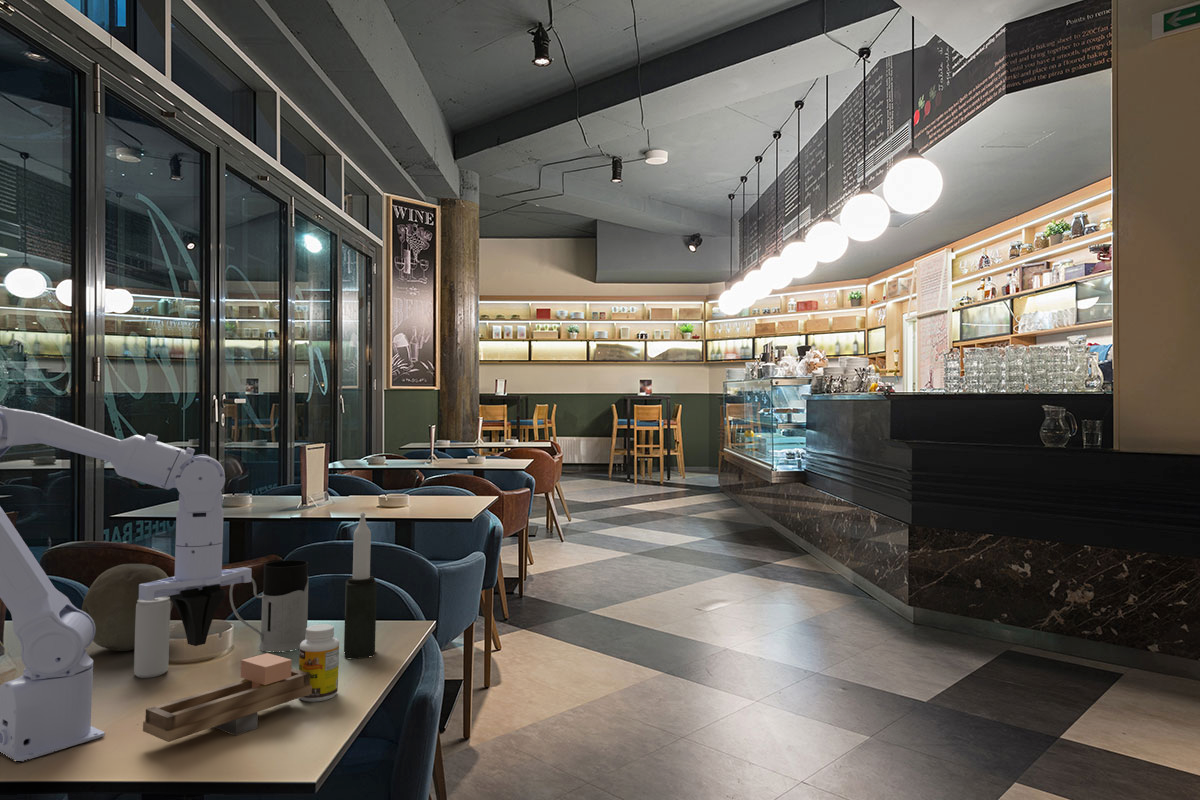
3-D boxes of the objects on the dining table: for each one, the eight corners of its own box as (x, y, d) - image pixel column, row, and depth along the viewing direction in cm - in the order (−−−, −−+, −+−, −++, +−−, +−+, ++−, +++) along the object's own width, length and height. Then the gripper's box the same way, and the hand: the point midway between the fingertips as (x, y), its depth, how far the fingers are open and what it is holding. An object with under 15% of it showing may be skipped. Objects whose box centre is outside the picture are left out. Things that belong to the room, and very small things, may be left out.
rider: (264, 697, 100) (265, 667, 100) (240, 689, 103) (241, 660, 103) (290, 689, 104) (291, 659, 104) (266, 681, 107) (267, 652, 107)
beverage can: (151, 679, 117) (154, 603, 118) (125, 677, 118) (128, 601, 119) (175, 670, 122) (177, 596, 123) (149, 668, 123) (152, 595, 124)
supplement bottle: (289, 698, 110) (291, 628, 110) (320, 687, 115) (322, 620, 115) (315, 705, 107) (317, 634, 108) (345, 694, 112) (347, 625, 112)
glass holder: (317, 645, 137) (320, 563, 137) (237, 662, 126) (240, 573, 127) (296, 636, 143) (299, 557, 143) (218, 651, 132) (221, 567, 133)
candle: (375, 656, 131) (378, 513, 132) (344, 659, 129) (348, 514, 130) (373, 648, 135) (376, 510, 136) (343, 651, 133) (347, 511, 134)
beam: (168, 759, 89) (170, 718, 89) (141, 747, 93) (142, 707, 93) (312, 708, 106) (313, 673, 106) (284, 699, 110) (285, 665, 110)
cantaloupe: (165, 655, 130) (168, 569, 131) (69, 663, 125) (73, 573, 125) (178, 634, 143) (181, 556, 144) (92, 641, 138) (95, 560, 139)
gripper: (160, 553, 94) (156, 662, 93) (265, 539, 106) (262, 635, 105) (131, 548, 97) (128, 653, 97) (236, 535, 110) (234, 628, 109)
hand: (196, 643), depth 101 cm, fingers closed
